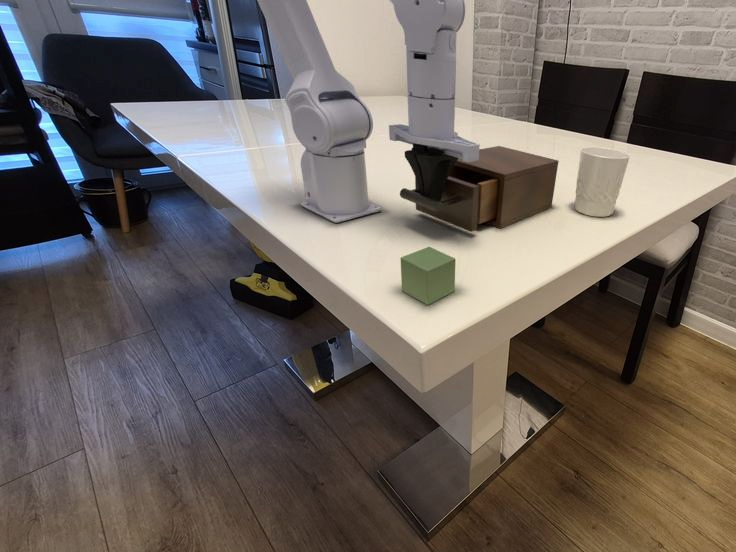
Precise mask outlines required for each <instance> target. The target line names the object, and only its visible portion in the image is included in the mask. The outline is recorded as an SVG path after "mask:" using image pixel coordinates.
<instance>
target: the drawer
mask: <svg viewBox="0 0 736 552" xmlns="http://www.w3.org/2000/svg"><path fill="white" fill-rule="evenodd" d="M414 181H415V183H414V185H415V186H414V187H415V188H413V189H408V188H406V187H403V188H401V190H400V191H399V196H400V198H401V199H403V200H406V201H408V202H411V203H414V204H415V210H417V211H419V212H421V213H423V214H426V215H428V216H430V217H434V218H435V219H438V220H440V221H444V222H446V223H448V224H451V225H454V226H456V227H458V228H460V229H463V230H465V231H467V232H468V231H469V232H471V233H472V232H474V231H477V229H478V225H481V224H483V223H484V222H486V221H488V220H491V219H494V218H496V217H497V211H498V199H499V186H500V179H499V178H495V177H492V176H489V175H485V174H482V173H479V172H475V171H472V170H469V169H465V168H462V167H459V166H455V165H454V166H453V168H452V170H451V172H450V174H449V176H448V178H447V181H446V184H445V187H444V190H443V194H442V198H441V201H438V200H435V199H433V198H430V197H427V196H425V195H422V194H421V193H420V190H419V186H418V183H417V180H416V177H415V176H414Z"/></svg>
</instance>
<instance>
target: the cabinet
mask: <svg viewBox="0 0 736 552" xmlns="http://www.w3.org/2000/svg"><path fill="white" fill-rule="evenodd" d="M455 166H459V167H462V168H465V169H469V170H472V171H475V172H479V173H482V174H485V175H489V176H492V177H495V178H499V179H500V186H499V199H498V211H497V217H496V218H494V219H491V220H488V221H486V222H483V223H485V224H487V225H490V226H492V227H494V228H498V229H503V228H505V227H508V226H510V225H512V224H515V223H517V222H520V221H522V220H524V219H527V218H530V217H532V216H535V215H536V214H539V213H541V212H544V211H547V210H549V209H551V208H552V207H553V201H554V194H555V188H556V182H557V181H556V180H557V174H558V168H559V160H558V159H553V158H550V157H546V156H542V155H537V154H534V153H529V152H525V151H522V150H517V149H513V148H511V147H510V148H509V147H505V146H502V145H497V146H491V147H486V148H479V160H477V161H472V162H465V161H463V160H462V159H461V158H458V160H457V161H456V163H455Z"/></svg>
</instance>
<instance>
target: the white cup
mask: <svg viewBox="0 0 736 552" xmlns="http://www.w3.org/2000/svg"><path fill="white" fill-rule="evenodd" d="M630 157H631V155H630V154H629V153H627V152H625V151H622V150H619V149H614V148H608V147H600V146H587V147H586V146H585V147H582V148H581V149H580V154H579V162H578V170H577V177H576V186H575V198H574V199H575V200H574V210H576V212H578V213H581V214H583V215H586V216H590V217H597V218H604V217H610V216H611V215H613V214H614V211H615V207H616V203H617V199H618V198H619V195H620V191H621V188H622V185H623V182H624V178H625V175H626V171H627V168H628V164H629V160H630Z"/></svg>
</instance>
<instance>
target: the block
mask: <svg viewBox="0 0 736 552" xmlns="http://www.w3.org/2000/svg"><path fill="white" fill-rule="evenodd" d="M400 277H401V292H403V293H405V294H407V295H409V296H410V297H412V298H414V299H416V300H417V301H419V302H421V303H423V304H424V305H426V306H429V305H431V304H433V303H435V302H437V301H439V300H440V299H443V298H445V297H446V296H448V295H450V294H452V293H454V292H455V290H456V289H455V288H456V258H455V257H453V256H451V255H449V254H447V253H445V252H442V251H440V250H438V249H436V248H433V247H431V246H427V247H425V248H422V249H419V250H416V251H414V252H411V253H409V254H406V255H404V256H401V257H400Z"/></svg>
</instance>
